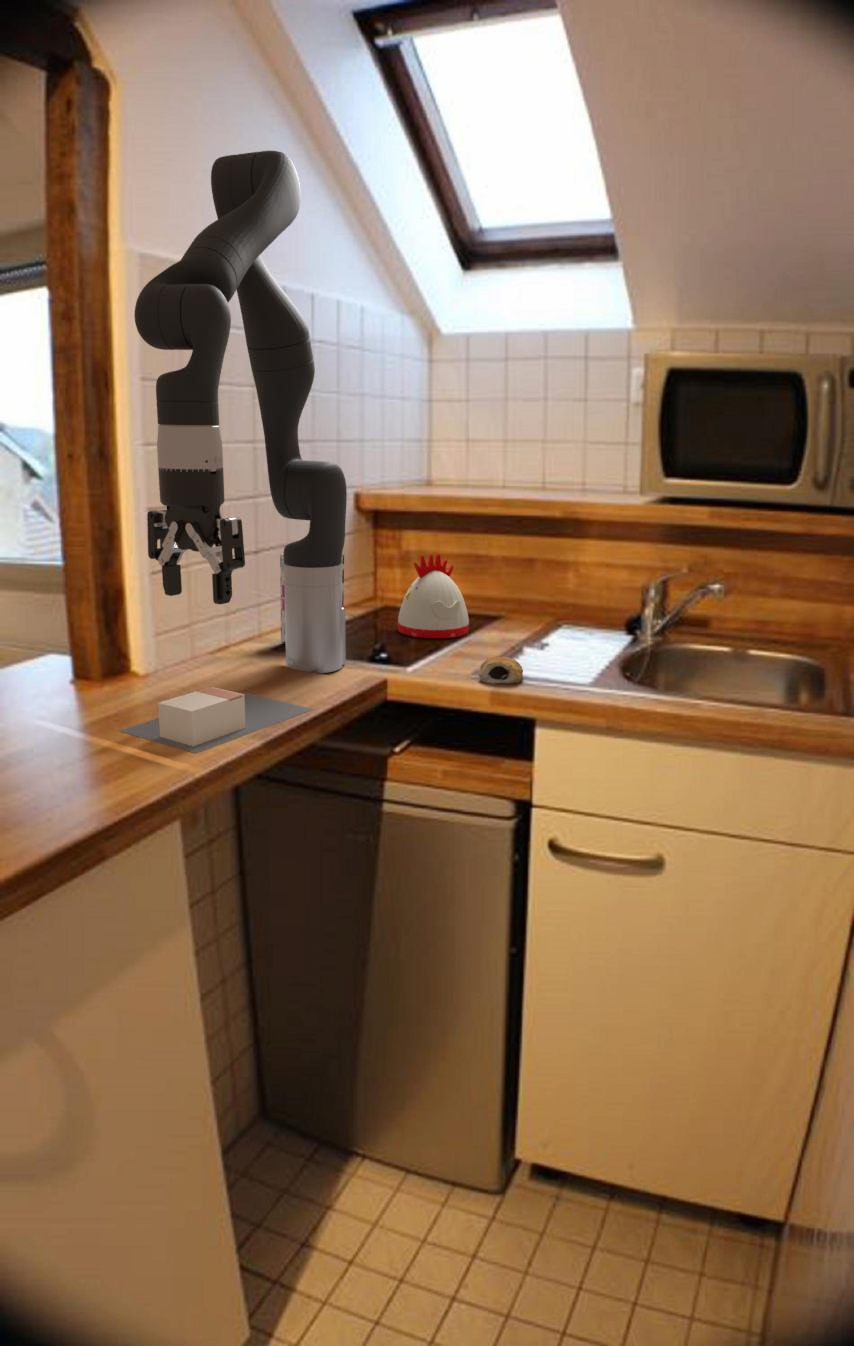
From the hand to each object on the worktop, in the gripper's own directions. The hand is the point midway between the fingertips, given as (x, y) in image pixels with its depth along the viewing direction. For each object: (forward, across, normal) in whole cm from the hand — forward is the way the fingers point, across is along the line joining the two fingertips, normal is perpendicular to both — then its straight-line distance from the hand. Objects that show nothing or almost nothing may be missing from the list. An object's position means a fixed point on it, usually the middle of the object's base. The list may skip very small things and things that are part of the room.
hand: (197, 598), depth 115 cm
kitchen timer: (+18, -11, +71) cm, 74 cm away
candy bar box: (+18, -23, +49) cm, 57 cm away
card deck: (+17, 0, 0) cm, 17 cm away
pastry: (+19, +17, +48) cm, 54 cm away
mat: (+18, -2, +5) cm, 19 cm away
